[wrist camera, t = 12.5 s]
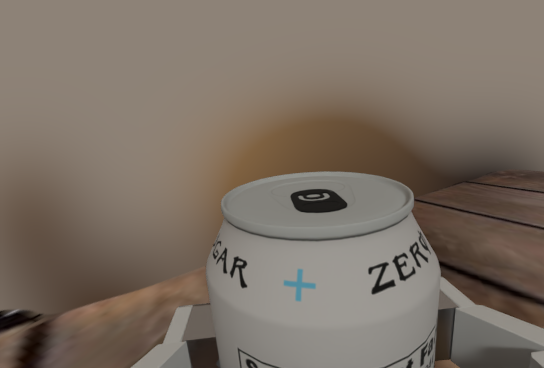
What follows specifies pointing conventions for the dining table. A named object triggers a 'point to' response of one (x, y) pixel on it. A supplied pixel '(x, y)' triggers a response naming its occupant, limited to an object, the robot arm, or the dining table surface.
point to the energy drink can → (323, 275)
